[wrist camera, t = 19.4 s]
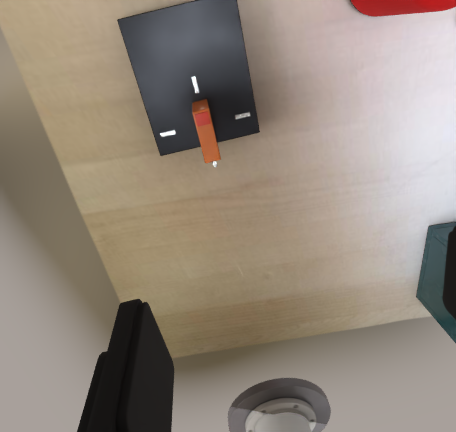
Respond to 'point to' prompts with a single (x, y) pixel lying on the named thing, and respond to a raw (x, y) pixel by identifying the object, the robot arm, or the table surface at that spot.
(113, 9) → the table surface
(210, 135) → the knob
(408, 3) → the beverage can
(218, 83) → the control panel
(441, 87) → the table surface
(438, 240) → the teal box
